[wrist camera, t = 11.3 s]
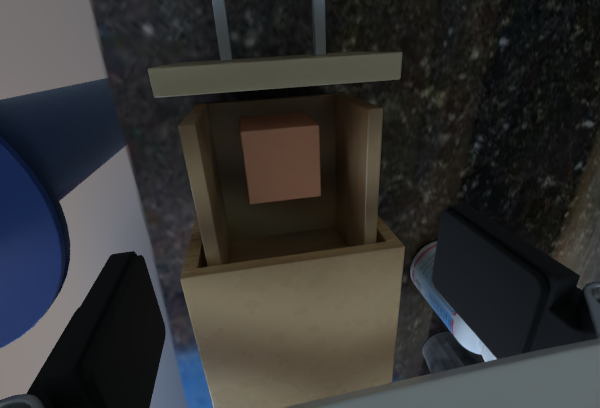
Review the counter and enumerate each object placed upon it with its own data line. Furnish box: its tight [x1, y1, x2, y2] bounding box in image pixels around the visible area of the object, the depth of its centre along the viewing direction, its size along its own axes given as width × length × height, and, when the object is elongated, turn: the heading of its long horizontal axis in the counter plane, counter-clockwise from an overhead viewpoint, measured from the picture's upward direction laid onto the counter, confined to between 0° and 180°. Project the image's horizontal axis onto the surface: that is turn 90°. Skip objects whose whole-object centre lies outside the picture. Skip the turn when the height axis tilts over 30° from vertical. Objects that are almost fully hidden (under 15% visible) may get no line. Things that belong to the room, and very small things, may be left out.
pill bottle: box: [410, 241, 497, 362], centre depth 28 cm, size 6×6×11 cm
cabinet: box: [180, 215, 405, 408], centre depth 26 cm, size 15×13×10 cm
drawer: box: [148, 0, 402, 267], centre depth 20 cm, size 18×11×8 cm, turn 3°
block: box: [240, 112, 321, 204], centre depth 21 cm, size 4×4×4 cm
